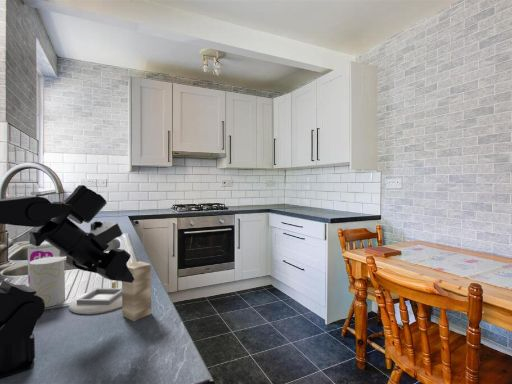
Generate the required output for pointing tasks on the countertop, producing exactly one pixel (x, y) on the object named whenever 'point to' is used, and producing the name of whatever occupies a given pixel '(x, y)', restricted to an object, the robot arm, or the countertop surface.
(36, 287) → the cup
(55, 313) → the countertop surface
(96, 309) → the locating plate
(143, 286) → the birch block
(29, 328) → the robot arm
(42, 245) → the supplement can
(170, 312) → the countertop surface
